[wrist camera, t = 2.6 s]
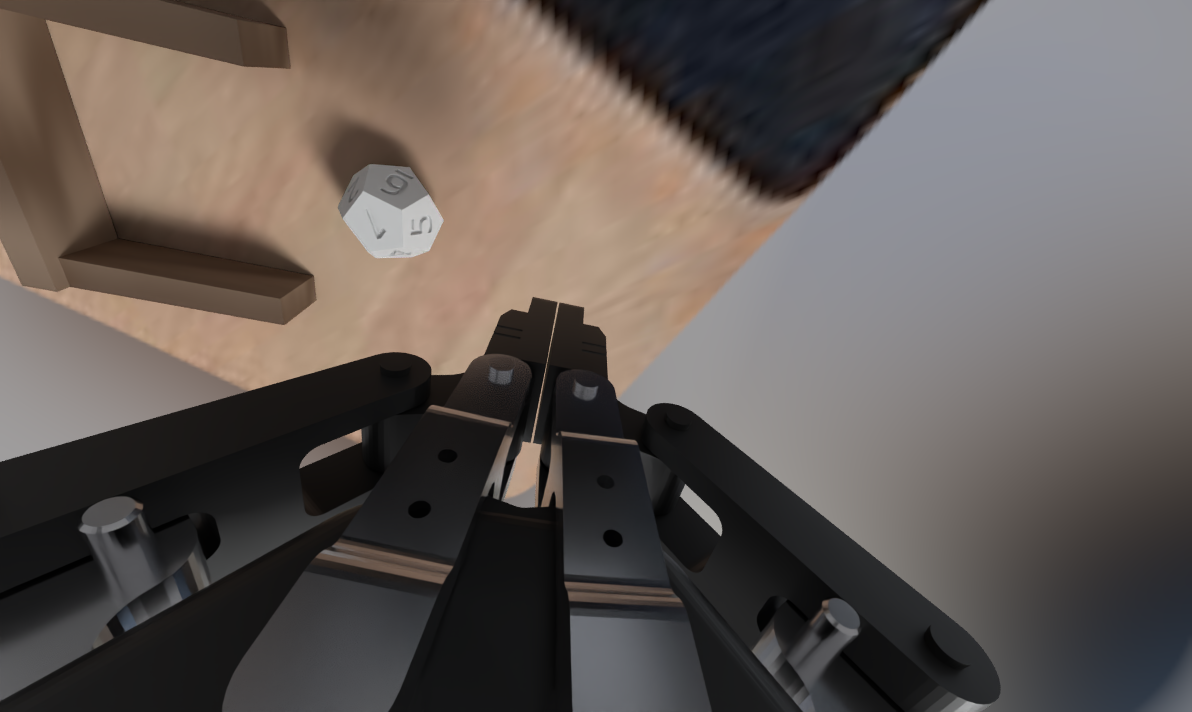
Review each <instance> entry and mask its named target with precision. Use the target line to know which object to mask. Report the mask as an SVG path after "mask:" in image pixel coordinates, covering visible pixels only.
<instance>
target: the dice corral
mask: <svg viewBox="0 0 1192 712" xmlns="http://www.w3.org/2000/svg"><path fill="white" fill-rule="evenodd" d="M45 19H46V20H50V21H54V22H58V23H63V24H67V25H71V26H75V27H80V28H84V29H88V30H92V31H96V32H101V33H105V34H109V35H113V36H118V37H122V38H126V39H130V40H134V41H139V42H143V43H147V44H151V45H156V46H160V47H164V48H168V49H173V50H177V51H181V52H185V53H189V54H194V55H198V56H202V57H206V58H211V59H215V60H219V61H223V62H227V63H232V64H236V65H240V66H246V67H267V68H288V69H291V68H290V59H289V50H288V41H287V32H286V28H283V27H279V26H275V25H271V24H267V23H263V22H259V21H255V20H251V19H247V18H243V17H239V16H235V15H231V14H227V13H223V12H219V11H215V10H211V9H207V8H203V7H199V6H194V5H190V4H186V3H182V2H178V1H174V0H0V239H1V242H2V244H3V246H4V248H5V250H6V252H7V254H8V257H9V259H10V261H11V263H12V265H13V267H14V269H15V271H16V274H17V276H18V278H19V280H20V282H21V284H22V286H27V287H33V288H39V289H44V290H50V291H56V292H58V291H60V290H63V289H65V288H68V287H74V288H80V289H85V290H91V291H97V292H102V293H108V294H113V295H119V296H125V297H130V298H136V299H141V300H147V301H153V302H158V303H164V304H169V305H175V306H180V307H186V308H192V309H197V310H203V311H208V312H214V313H220V314H225V315H231V316H236V317H242V318H248V319H253V320H259V321H264V322H270V323H275V324H281V325H285V324H286V323H288V322H289V321H290V320H292V319H293V318H294V317H295V316H297V315H298V314H299V313H301V312H302V311H303V310H304V309H306V308H307V307H308V306H310V305H311V304H312V303H313V302H315V301H316V292H315V283H314V276H311V275H306V274H301V273H295V272H290V271H285V270H280V269H274V268H269V267H264V266H259V265H254V264H248V263H243V262H238V261H233V260H228V259H222V258H217V257H212V256H207V255H201V254H196V253H191V252H186V251H181V250H175V249H170V248H165V247H160V246H154V245H149V244H144V243H139V242H134V241H128V240H123V239H118V238H117V235H116V232H115V229H114V226H113V223H112V220H111V217H110V214H109V211H108V208H107V205H106V202H105V199H104V196H103V193H102V190H101V187H100V184H99V181H98V178H97V175H96V172H95V169H94V166H93V163H92V160H91V157H90V154H89V151H88V148H87V145H86V142H85V139H84V136H83V133H82V130H81V127H80V124H79V121H78V118H77V115H76V112H75V109H74V106H73V103H72V100H71V97H70V94H69V91H68V88H67V85H66V82H65V79H64V76H63V73H62V70H61V67H60V64H59V61H58V58H57V55H56V52H55V49H54V46H53V43H52V40H51V37H50V34H49V31H48V28H47V25H46V21H45Z"/></svg>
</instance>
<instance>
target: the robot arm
mask: <svg viewBox="0 0 1192 712" xmlns="http://www.w3.org/2000/svg"><path fill="white" fill-rule="evenodd" d="M556 308H557V302H555V301H550V300H545V299H540V298H535V297H533V298H532V302H531V305H530V308H529V311H528V313H526V312H522V311H517V310H512V309H511V310H510V311H508V312H506V313H505V314H503V315H501V317H500V319H499V321H498V324H497V327H496V328H495V331H494V334H493V335H492V338H491V340H490V342H489V345H488V347H487V350H486V352H485V354H484V355H483V356H480V357H478V358H476V359H474V360H473V361H472V362H471V364H470V365H469V367H468V368H467V370H466V372H465V373H461V374H455V375H431V367H430V365H429V364H428V363H427V362H426V361H425V360H424V359H422V358H420V357H418V356H415V355H412V354H408V353H399V352H391V353H382V354H378V355H374V356H371V357H367V358H364V359H360V360H357V361H353V362H350V363H346V364H343V365H339V366H336V367H332V368H329V369H325V370H322V371H318V372H315V373H311V374H308V375H304V376H300V377H297V378H293V379H290V380H286V381H283V382H279V383H276V384H272V385H269V386H265V387H262V388H258V389H255V390H251V391H248V392H245V393H241V394H237V395H234V396H230V397H227V398H223V399H220V400H216V401H213V402H210V403H206V404H202V405H199V406H195V407H192V408H188V409H185V410H181V411H178V412H174V413H171V414H167V415H164V416H160V417H156V418H153V419H150V420H146V421H142V422H139V423H135V424H132V425H129V426H125V427H121V428H118V429H114V430H111V431H107V432H104V433H100V434H97V435H93V436H90V437H86V438H83V439H79V440H76V441H72V442H69V443H65V444H62V445H58V446H55V447H51V448H47V449H44V450H40V451H37V452H34V453H30V454H26V455H23V456H20V457H16V458H12V459H9V460H5V461H2V462H0V712H981V711H983V710H984V709H985V708H986V707H988V706H989V705H991V704H992V703H993V702H995V701H996V700H997V699H998V698H999V695H1000V682H999V677H998V675H997V672H996V670H995V668H994V666H993V664H992V662H991V661H990V659H989V657H988V656H987V654H986V653H985V652H984V650H983V649H982V648H981V646H980V645H979V644H978V643H977V642H976V641H975V640H974V638H972V636H971V635H970V634H968V632H967V631H965V630H964V629H963V628H962V627H960V626H959V625H958V624H957V623H956V622H955V621H954V620H952V619H951V618H949V616H947V615H946V614H945V613H943V612H942V611H941V610H940V609H939V608H937V607H936V606H935V605H934V604H932V603H931V602H930V601H928V600H927V599H926V598H925V597H923V596H922V595H921V594H920V593H919V592H917V591H916V590H915V589H913V588H912V587H911V586H910V585H909V584H907V583H906V582H905V581H904V580H902V579H901V578H900V577H898V576H897V575H896V574H895V573H894V572H892V571H891V570H890V569H889V568H887V567H886V566H885V565H884V564H882V563H881V562H880V561H878V560H877V559H876V558H875V557H873V556H872V555H871V554H870V553H869V552H867V551H866V550H865V549H864V548H862V547H861V546H860V545H858V544H857V543H856V542H855V541H854V540H852V539H851V538H850V537H849V536H847V535H846V534H845V533H844V532H842V531H841V530H840V529H839V528H837V527H836V526H835V525H834V524H832V523H831V522H830V521H829V520H827V519H826V518H825V517H824V516H822V515H821V514H820V513H818V512H817V511H816V510H815V509H814V508H812V507H811V506H810V505H809V504H807V503H806V502H805V501H803V500H802V499H801V498H800V497H799V496H797V495H796V494H795V493H794V492H792V491H791V490H790V489H788V488H787V487H786V486H785V485H784V484H782V483H781V482H780V481H779V480H777V479H776V478H774V477H773V476H772V475H771V474H770V473H769V472H767V471H766V470H765V469H764V468H762V467H761V466H760V465H758V464H757V463H756V462H755V461H754V460H752V459H751V458H750V457H749V456H747V455H746V454H745V453H744V452H742V451H741V450H740V449H739V448H737V447H736V446H735V445H733V444H732V443H731V442H730V441H729V440H727V439H726V438H725V437H724V436H722V435H721V434H720V433H718V432H717V431H716V430H715V429H713V428H712V427H711V426H710V425H709V424H707V423H706V422H705V421H704V420H702V419H701V418H700V417H699V416H697V415H696V414H694V413H693V412H692V411H690V410H688V409H686V408H684V407H682V406H679V405H675V404H669V403H660V404H655V405H653V406H651V407H650V408H649V409H648V411H647V414H644V413H642V412H639V411H637V410H634V409H632V408H629V407H627V406H626V405H624V404H622V403H621V402H619V401H618V400H617V398H616V393H615V389H614V387H613V385H612V384H611V382H610V381H608V373H607V356H606V355H607V351H606V336H605V335H604V334H603V332H602V331H601V330H600V328H599V327H596V326H591V325H586V324H583V318H584V307H579V306H574V305H569V304H565V303H559V308H558V313H557V318H556V323H555V328H554V333H553V337H552V342H551V347H550V352H549V346H550V341H551V335H552V330H553V324H554V319H555V313H556ZM548 352H549V357H548ZM547 358H548V363H547ZM546 363H547V368H546ZM545 368H546V373H545ZM544 373H545V379H544V385H543V390H542V396H541V402H540V407H539V413H538V419H537V424H536V430H535V436H534V441H533V443H536V444H542V445H541V452H540V456H539V461H538V465H537V473H536V494H535V507H532V508H520V507H516V506H513V505H510V504H508V503H505V502H503V501H504V498H505V495H506V492H507V489H508V486H509V483H510V480H511V477H512V474H513V471H514V468H515V463H516V458H517V456H518V454H519V453H520V451H521V447H522V442H523V441H524V442H530V443H531V438H532V433H533V428H534V423H535V418H536V413H537V408H538V403H539V398H540V393H541V388H542V383H543V378H544ZM360 429H361V430H362V442H361V443H359V444H356V445H354V446H352V447H350V448H347V449H345V450H342V451H340V452H338V453H335V454H333V455H331V456H328V457H326V458H323V459H321V460H319V461H316V462H314V463H312V464H309V465H307V466H305V467H302V468H300V469H299V466H300V463H301V461H302V460H303V458H304V457H305V456H306V454H308V453H309V452H310V451H311V450H312V449H314V448H316V447H318V446H320V445H322V444H325V443H327V442H330V441H332V440H334V439H337V438H340V437H342V436H345V435H347V434H350V433H352V432H355V431H357V430H360ZM685 484H686V485H687V486H688V487H689V488H690V489H691V490H692V491H693V492H694V493H696V494H697V495H698V496H699V497H700V498H701V499H702V500H703V501H704V502H705V503H706V504H707V505H708V506H710V508H711V509H712V510H713V511H714V512H715V513H716V514H717V515H718V517H719V519H720V521H721V524H722V535H721V536H720V535H719V534H718V533H717V532H716V531H715V530H714V529H713V528H712V527H711V526H710V525H709V524H708V523H707V522H705V521H704V520H703V519H702V518H701V517H700V516H699V515H698V514H697V513H696V512H695V511H694V510H693V509H692V508H691V507H690V506H689V505H688V504H687V503H686V502H685V501H684V500H683V499H682V498H681V497H680V495H681V492H682V490H683V488H684V486H685Z"/></svg>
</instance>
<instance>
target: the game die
mask: <svg viewBox="0 0 1192 712" xmlns="http://www.w3.org/2000/svg"><path fill="white" fill-rule="evenodd" d="M338 209H339V211H340V214H341V216H342V218H343V220H344V221H345V222H346V224H347V225H348V226H349V228H350V229H351V230H352V232H353V233H354V234H355V236H356V237H357V238H358V239H359V241H360V242H361V243H362V245H363V246H364V247H365V249H366V250H367V251H368V252H369V253H370V254H371V255H373V256H374V257H375V258H402V257H414V256H417V255H419V254H422V253H425V252H428V251H429V250H430V248H431V246H432V244H433V242H434V240H435V238H436V235H437V233H438V231H439V229H440V227H441V225H442V223H443V221H444V220H443V218H442V217H441V215H440V213H439V211H438V210H437V208H436V206H435V204H434V203H433V201H432V199H431V197H430V196H429V194H428V193H427V191H426V190H425V188H424V187H423V186H422V184H421V183H420V181H419V180H418V179H417V177H416V176H415V174H414V173H413V172H412V170H411V169H410V167H402V166H389V165H376V164H369V165H367V166H366V167H364V168H363V169H362V170H360V171H359V172H357V173H356V174H354V175H353V177H352V179H351V181H350V183H349V185H348V187H347V189H346V191H345V193H344V195H343V197H342V199H341V201H340V203H339V205H338Z"/></svg>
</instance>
